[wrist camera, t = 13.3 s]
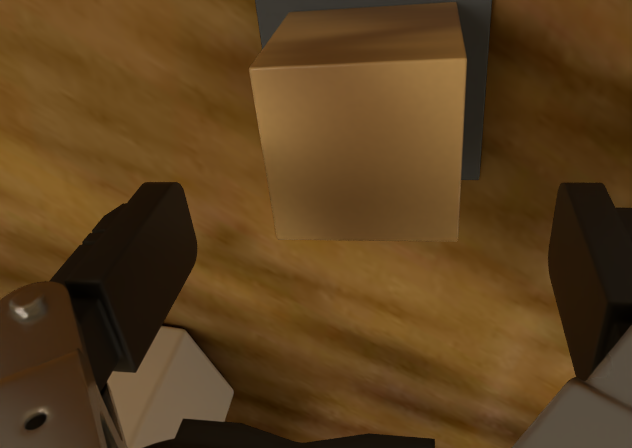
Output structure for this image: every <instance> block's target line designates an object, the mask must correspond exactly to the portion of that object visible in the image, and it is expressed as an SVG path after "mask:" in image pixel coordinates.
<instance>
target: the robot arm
mask: <svg viewBox="0 0 632 448" xmlns="http://www.w3.org/2000/svg"><path fill="white" fill-rule="evenodd" d="M82 243H83V244H82V245H79V247H78V248H77V249H76V250H75V251H74V252H73V254H72V255H71V256H70V257H69V258H68V260H67V261H66V262H65V263H64V264H63V266H62V267H61V268H60V269H59V270H58V271H57V273H56V274H55V275H54V276H53V277H52V279H51V280H50V281H45V282H37V283H32V284H29V285H26V286H23V287H21V288H18V289H16V290H14V291H12V292H11V293H9V294H8V295H6V296H5V297H3V298H2V299H1V300H0V448H128V447H127V444H126V440H125V437H124V433H123V430H122V426H121V423H120V419H119V416H118V412H117V409H116V405H115V402H114V398H113V395H112V391H111V389H110V387H109V384H108V382H107V381H108V379H109V377H110V375H111V374H112V372H113V371H115V372H130V373H136V372H137V370H138V368H139V366H140V364H141V362H142V361H143V359H144V357H145V355H146V353H147V351H148V350H149V348H150V346H151V344H152V342H153V340H154V339H155V337H156V335H157V333H158V331H159V329H160V327H161V326H162V324H163V322H164V320H165V318H166V316H167V315H168V313H169V311H170V309H171V307H172V305H173V304H174V302H175V300H176V298H177V296H178V294H179V292H180V291H181V289H182V287H183V285H184V283H185V281H186V280H187V278H188V276H189V274H190V272H191V270H192V268H193V267H194V264H195V261H196V256H197V240H196V236H195V232H194V228H193V224H192V220H191V216H190V213H189V209H188V205H187V201H186V197H185V193H184V190H183V188H182V186H181V185H180V184H179V183H177V182H146V183H143V184H142V185H141V187H140V188H139V189H138V190H137V191H136V193H135V194H134V195H133V196H132V198H131V199H130V200H129V201H128V203H127V204H122V205H120V206H119V207H117V208H116V209H114V210H113V211H111V212H110V213H108V214H107V215H105V216H104V217H103V218H102V219H101V220H100V222H99V223H98V224H97V225H96V226H95V228H94V229H93V230H92V233H90V234H89V235H88V236H87V237H86V238H85V239H84V241H83V242H82ZM548 266H549V275H550V279H551V283H552V287H553V291H554V295H555V298H556V302H557V306H558V310H559V314H560V317H561V321H562V325H563V329H564V333H565V337H566V340H567V344H568V348H569V352H570V356H571V359H572V363H573V367H574V371H575V375H576V377H575V378H572V379H571V380H569V381H568V382H567V383H566V384H565V385H564V386H563V388H562V389H561V390H560V391H559V392H558V393H557V395H556V396H555V397H554V398H553V399H552V401H551V402H550V403H549V404H548V405H547V407H546V408H545V409H544V410H543V411H542V412H541V414H540V415H539V416H538V417H537V418H536V420H535V421H534V422H533V423H532V424H531V425H530V427H529V428H528V429H527V430H526V431H525V433H524V434H523V435H522V436H521V437H520V439H519V440H518V441H517V442H516V443H515V444H514V446H513V447H512V448H632V208H615V206H614V204H613V202H612V200H611V198H610V196H609V194H608V192H607V189H606V187H605V186H604V184H603V183H561V184H560V186H559V189H558V193H557V199H556V206H555V212H554V218H553V225H552V231H551V237H550V244H549V253H548ZM143 448H435V439H429V438H417V437H404V436H392V435H380V434H363V435H356V436H349V437H342V438H335V439H328V440H321V441H314V442H307V443H299V442H295V441H291V440H289V439H286V438H283V437H280V436H277V435H274V434H271V433H268V432H265V431H262V430H259V429H256V428H254V427H251V426H248V425H245V424H242V423H232V422H220V421H208V420H196V419H183V420H182V422H181V424H180V427H179V429H178V431H177V434H176V436H175V438H174V439H169V440H165V441H161V442H157V443H154V444H151V445H148V446H146V447H143Z"/></svg>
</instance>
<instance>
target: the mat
mask: <svg viewBox="0 0 632 448" xmlns="http://www.w3.org/2000/svg"><path fill="white" fill-rule="evenodd" d="M446 2H456V4H457V8H458V14H459V19H460V24H461V30H462V35H463V41H464V46H465V51H466V57H467V71H466V92H465V112H464V132H463V152H462V172H461V180H479V176H480V162H481V148H482V134H483V120H484V106H485V92H486V78H487V64H488V49H489V35H490V21H491V7H492V0H255V3H256V10H257V17H258V23H259V30H260V37H261V44H262V49H263V48H264V47H265V45H266V44H267V42H268V41H269V40H270V38H271V37H272V35H273V34H274V33H275V31H276V30H277V28H278V27H279V26H280V24H281V23H282V22H283V20H284V19H285V17H286V16H287V15H288V13H289V12H300V11H317V10H333V9H349V8H365V7H381V6H398V5H414V4H430V3H446Z"/></svg>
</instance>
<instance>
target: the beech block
mask: <svg viewBox="0 0 632 448" xmlns="http://www.w3.org/2000/svg"><path fill="white" fill-rule="evenodd" d="M466 71H467V57H466V51H465V46H464V41H463V35H462V30H461V24H460V19H459V14H458V8H457V4H456V2H446V3H430V4H414V5H398V6H381V7H365V8H349V9H333V10H317V11H300V12H289V13H288V15H287V16H286V17H285V19H284V20H283V22H282V23H281V24H280V26H279V27H278V28H277V30H276V31H275V33H274V34H273V35H272V37H271V38H270V40H269V41H268V42H267V44H266V45H265V47H264V48H263V49H262V51H261V52H260V54H259V55H258V56H257V58H256V59H255V61H254V62H253V63H252V65H251V66H250V67H249V73H250V79H251V85H252V91H253V97H254V103H255V109H256V115H257V121H258V127H259V133H260V139H261V145H262V151H263V157H264V163H265V170H266V176H267V182H268V188H269V194H270V200H271V206H272V212H273V218H274V224H275V230H276V236H277V239H279V240H369V241H457V240H458V232H459V212H460V192H461V172H462V152H463V132H464V112H465V92H466Z"/></svg>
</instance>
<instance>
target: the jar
mask: <svg viewBox="0 0 632 448" xmlns="http://www.w3.org/2000/svg"><path fill="white" fill-rule="evenodd" d="M107 382H108V384H109V387H110V389H111V391H112V395H113V398H114V402H115V405H116V409H117V412H118V416H119V419H120V423H121V426H122V430H123V433H124V437H125V440H126V444H127V447H128V448H143V447H146V446H148V445H151V444H154V443H157V442H161V441H165V440H169V439H174V438H175V436H176V434H177V431H178V429H179V427H180V424H181V422H182V420H183V419H196V420H208V421H220V422H225V419H226V416H227V413H228V410H229V407H230V404H231V401H232V398H233V395H234V391H233V389H232V387H231V386H230V385H229V384H228V382H227V381H226V380H225V379H224V377H223V376H222V375H221V374H220V372H219V371H218V370H217V369H216V367H215V366H214V365H213V364H212V362H211V361H210V360H209V359H208V357H207V356H206V355H205V354H204V352H203V351H202V350H201V349H200V347H199V346H198V345H197V344H196V342H195V341H194V340H193V339H192V337H191V336H190V335H189V334H188V333H187V331H186V330H184V329H180V328H174V327H167V326H161V327H160V329H159V331H158V333H157V335H156V337H155V339H154V340H153V342H152V344H151V346H150V348H149V350H148V351H147V353H146V355H145V357H144V359H143V361H142V362H141V364H140V366H139V368H138V370H137V372H136V373H130V372H115V371H113V372H112V374H111V375H110V377H109V379H108V381H107Z"/></svg>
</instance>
